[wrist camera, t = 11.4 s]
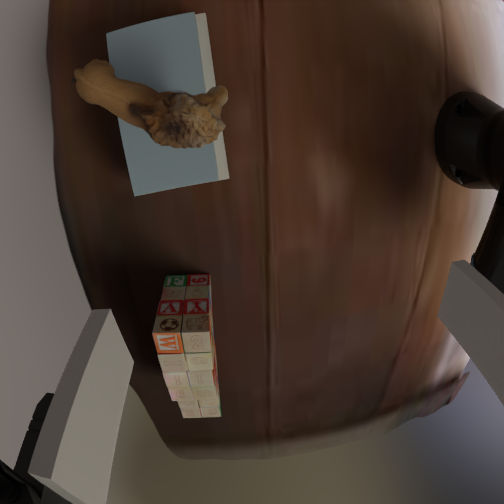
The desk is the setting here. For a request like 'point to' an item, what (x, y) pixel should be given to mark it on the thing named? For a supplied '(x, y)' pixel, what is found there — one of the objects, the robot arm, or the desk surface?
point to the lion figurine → (154, 106)
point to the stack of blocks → (188, 344)
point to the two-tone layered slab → (165, 79)
